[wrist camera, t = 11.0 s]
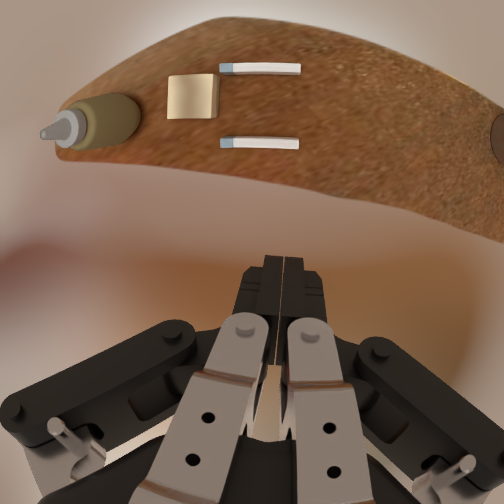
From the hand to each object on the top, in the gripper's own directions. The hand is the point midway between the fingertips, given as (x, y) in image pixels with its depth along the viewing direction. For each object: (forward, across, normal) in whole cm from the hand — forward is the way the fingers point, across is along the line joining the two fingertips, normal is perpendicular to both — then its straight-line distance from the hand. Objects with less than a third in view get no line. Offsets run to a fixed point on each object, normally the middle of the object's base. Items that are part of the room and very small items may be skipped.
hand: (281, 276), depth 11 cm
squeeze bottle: (+30, +25, -6) cm, 40 cm away
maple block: (+30, +13, -8) cm, 34 cm away
